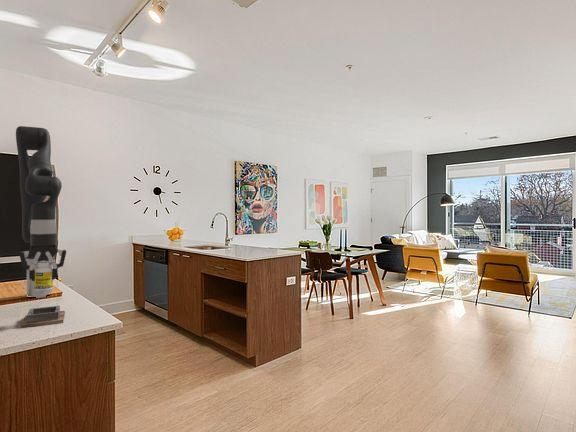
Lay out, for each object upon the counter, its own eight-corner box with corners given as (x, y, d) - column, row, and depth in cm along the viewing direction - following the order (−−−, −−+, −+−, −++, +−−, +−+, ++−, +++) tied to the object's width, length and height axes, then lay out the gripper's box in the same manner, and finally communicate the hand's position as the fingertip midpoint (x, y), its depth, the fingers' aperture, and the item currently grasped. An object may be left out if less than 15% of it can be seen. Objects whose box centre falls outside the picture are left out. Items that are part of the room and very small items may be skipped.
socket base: (25, 317, 126) (25, 308, 126) (64, 313, 132) (64, 304, 132) (20, 328, 116) (20, 317, 115) (63, 322, 122) (63, 312, 121)
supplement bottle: (33, 291, 120) (32, 263, 119) (35, 288, 125) (35, 261, 124) (51, 290, 122) (51, 262, 122) (54, 287, 127) (53, 260, 127)
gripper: (68, 231, 130) (68, 276, 130) (20, 232, 123) (20, 279, 123) (67, 232, 123) (67, 280, 124) (16, 233, 116) (16, 283, 116)
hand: (43, 279), depth 123 cm, fingers closed on supplement bottle, 5 cm apart
